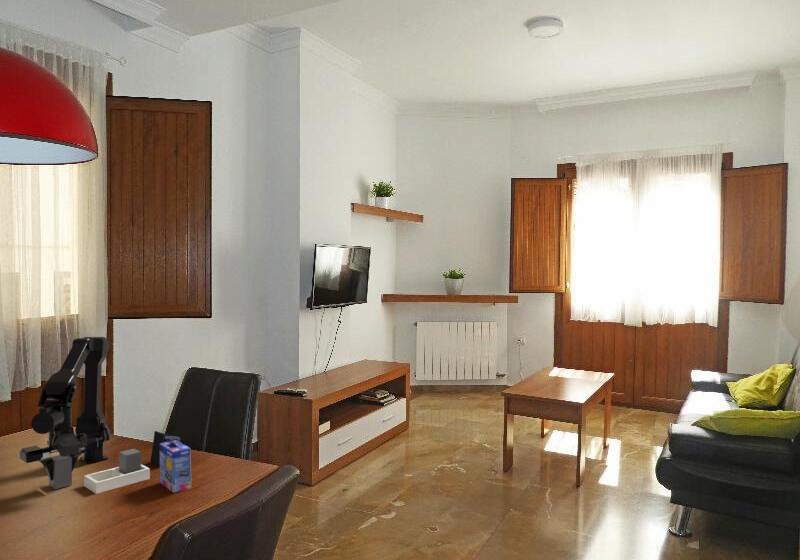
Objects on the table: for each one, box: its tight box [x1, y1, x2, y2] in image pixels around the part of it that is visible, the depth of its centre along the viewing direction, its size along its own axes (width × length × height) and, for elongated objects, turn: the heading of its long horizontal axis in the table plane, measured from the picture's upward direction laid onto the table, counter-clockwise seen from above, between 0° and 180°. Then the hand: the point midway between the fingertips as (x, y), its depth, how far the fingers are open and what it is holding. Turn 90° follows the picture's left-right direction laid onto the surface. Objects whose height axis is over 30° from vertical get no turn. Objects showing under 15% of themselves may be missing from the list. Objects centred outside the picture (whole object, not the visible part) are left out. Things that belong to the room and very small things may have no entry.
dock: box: [83, 463, 151, 495], centre depth 170 cm, size 8×15×4 cm, turn 140°
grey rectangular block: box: [48, 454, 73, 490], centre depth 167 cm, size 4×4×8 cm
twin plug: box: [118, 448, 142, 474], centre depth 173 cm, size 4×4×8 cm
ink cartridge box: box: [159, 437, 192, 493], centre depth 169 cm, size 10×6×14 cm, turn 45°
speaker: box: [150, 430, 181, 467], centre depth 187 cm, size 8×6×10 cm
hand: (60, 477), depth 167 cm, fingers closed on grey rectangular block, 4 cm apart
